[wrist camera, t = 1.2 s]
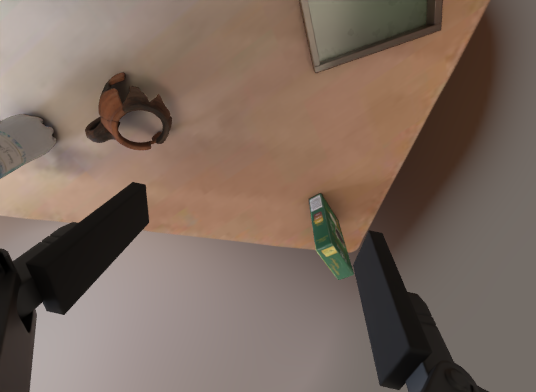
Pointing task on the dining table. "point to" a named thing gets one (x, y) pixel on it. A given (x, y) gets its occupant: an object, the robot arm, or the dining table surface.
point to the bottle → (23, 141)
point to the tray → (364, 27)
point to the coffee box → (329, 238)
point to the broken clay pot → (115, 110)
